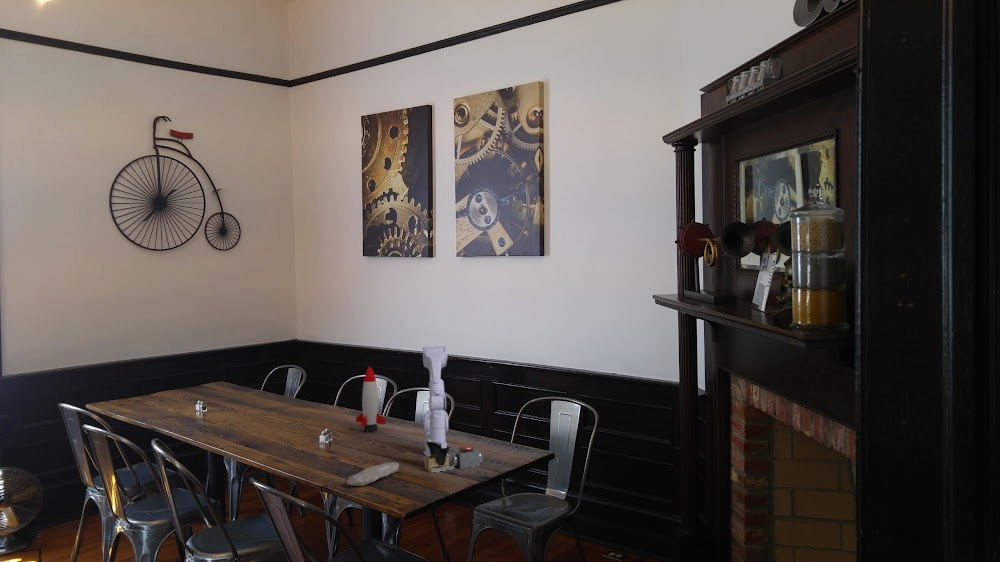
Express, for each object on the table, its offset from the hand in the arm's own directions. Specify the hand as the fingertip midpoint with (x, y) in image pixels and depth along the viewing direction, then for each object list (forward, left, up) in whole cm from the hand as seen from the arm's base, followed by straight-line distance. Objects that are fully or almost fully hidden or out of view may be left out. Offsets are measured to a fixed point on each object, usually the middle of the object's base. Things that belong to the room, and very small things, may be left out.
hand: (438, 462), depth 263 cm
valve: (0, +7, -2) cm, 7 cm away
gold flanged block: (0, 0, -2) cm, 3 cm away
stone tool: (+2, -24, -3) cm, 25 cm away
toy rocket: (-71, -8, -3) cm, 72 cm away
